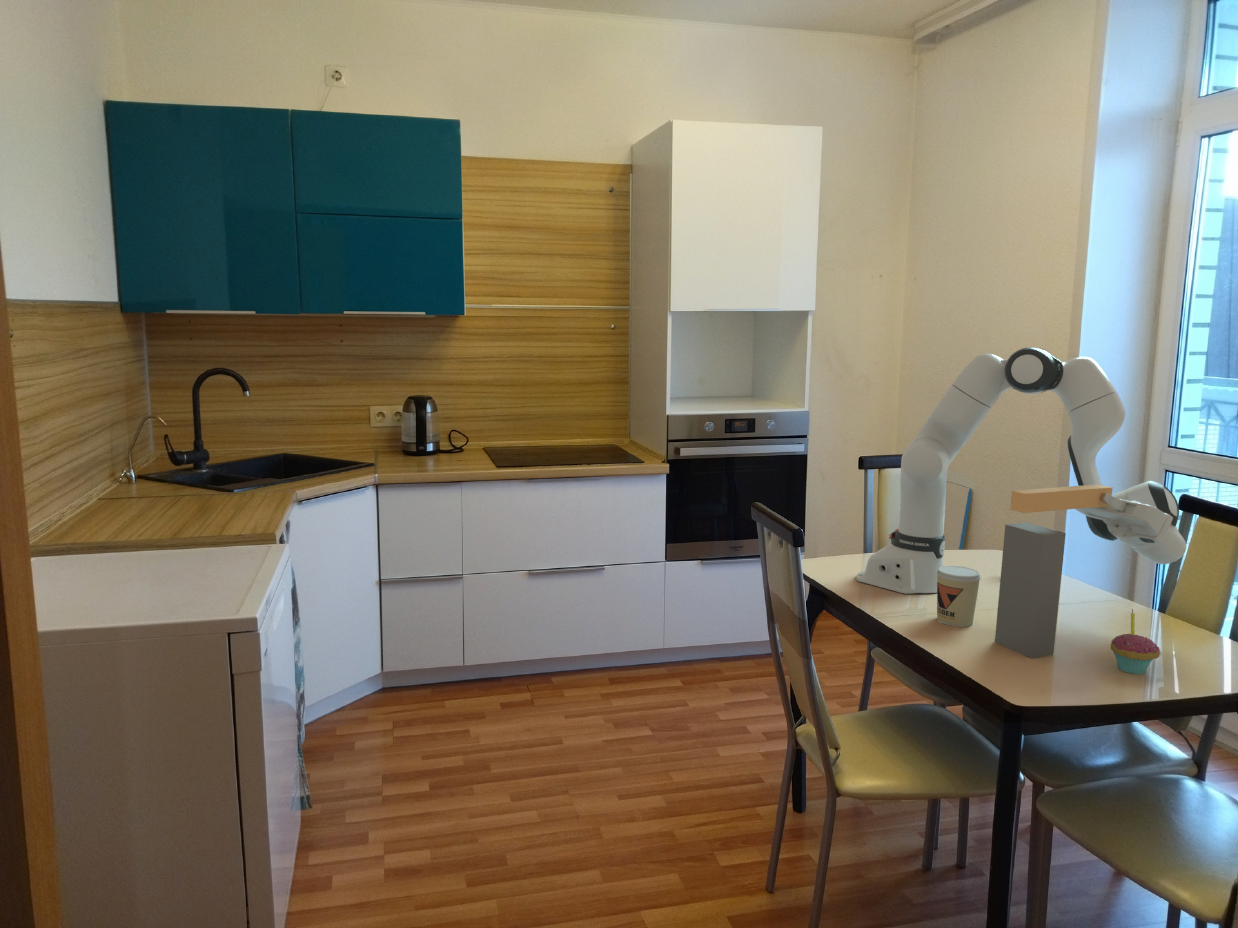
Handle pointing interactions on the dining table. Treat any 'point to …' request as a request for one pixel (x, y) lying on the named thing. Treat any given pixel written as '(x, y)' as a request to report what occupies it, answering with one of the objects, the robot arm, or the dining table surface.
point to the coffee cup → (957, 595)
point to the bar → (1058, 498)
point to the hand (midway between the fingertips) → (1093, 493)
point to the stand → (1029, 589)
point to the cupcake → (1134, 651)
